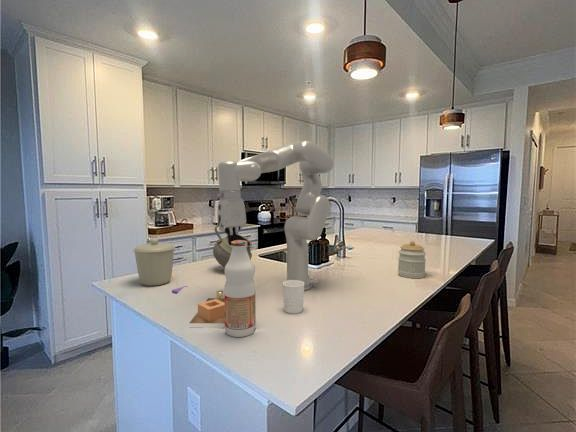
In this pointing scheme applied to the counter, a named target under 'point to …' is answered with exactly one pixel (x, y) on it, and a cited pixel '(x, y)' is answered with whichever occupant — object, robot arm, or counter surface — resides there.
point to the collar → (211, 310)
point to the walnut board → (200, 320)
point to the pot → (226, 248)
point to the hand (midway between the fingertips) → (232, 244)
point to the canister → (154, 262)
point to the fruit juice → (239, 292)
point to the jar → (411, 261)
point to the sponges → (178, 289)
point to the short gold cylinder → (220, 295)
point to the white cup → (293, 296)
